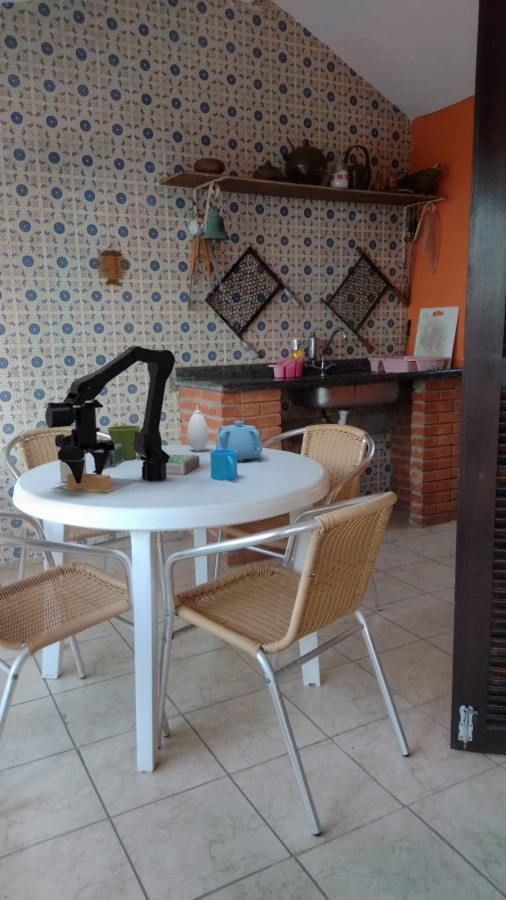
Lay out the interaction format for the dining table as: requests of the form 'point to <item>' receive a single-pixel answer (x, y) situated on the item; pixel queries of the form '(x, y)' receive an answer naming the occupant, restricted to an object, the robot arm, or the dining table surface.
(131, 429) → the plant pot
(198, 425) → the white air blower
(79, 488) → the pad
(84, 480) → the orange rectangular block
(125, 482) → the board
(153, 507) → the dining table surface
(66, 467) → the block
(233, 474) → the mug
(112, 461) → the handheld radio
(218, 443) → the decorative pot
